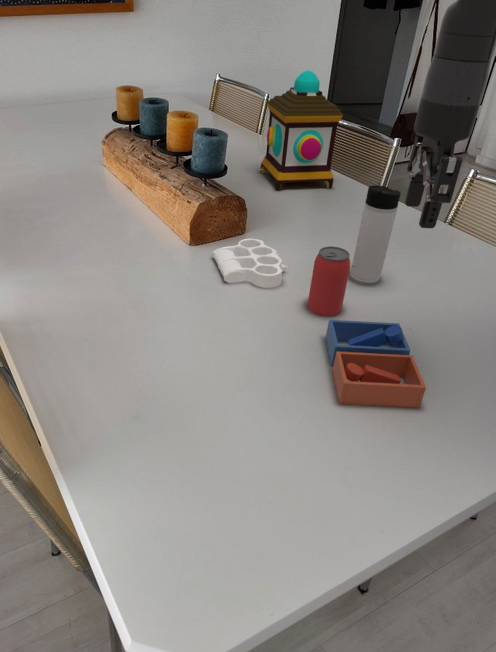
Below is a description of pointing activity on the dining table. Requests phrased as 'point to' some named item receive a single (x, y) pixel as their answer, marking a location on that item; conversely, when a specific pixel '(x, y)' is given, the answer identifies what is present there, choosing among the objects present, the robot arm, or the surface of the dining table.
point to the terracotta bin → (379, 392)
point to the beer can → (329, 281)
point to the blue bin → (352, 329)
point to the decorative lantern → (301, 134)
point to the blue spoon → (378, 337)
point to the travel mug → (374, 234)
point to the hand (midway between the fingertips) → (418, 215)
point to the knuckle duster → (250, 263)
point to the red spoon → (370, 374)
